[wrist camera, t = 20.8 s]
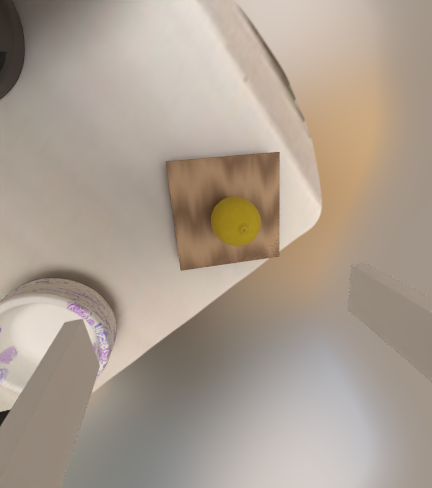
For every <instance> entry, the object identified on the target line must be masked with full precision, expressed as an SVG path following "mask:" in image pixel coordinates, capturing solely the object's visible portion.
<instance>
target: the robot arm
mask: <svg viewBox="0 0 432 488" xmlns="http://www.w3.org/2000/svg"><path fill="white" fill-rule="evenodd" d="M23 60H24V37H23V31H22V27H21V23H20V20H19V17H18V14H17V11H16V9H15V7H14V4H13V2H12V0H0V98H1V97H2V96H4V95H5V94H6V93H7V92H8V91H9V90H10V89H11V88H12V87H13V85H14V84H15V82H16V81H17V79H18V77H19V74H20V72H21V69H22V65H23ZM348 311H350V312H351V313H352V314H353V315H354V316H355V317H357V318H358V319H359V320H360V321H361V322H362V323H363V324H365V325H366V326H367V327H368V328H369V329H370V330H372V331H373V332H374V333H375V334H377V336H379V337H380V338H381V339H382V340H383V341H384V342H386V343H387V344H388V345H389V346H390V347H391V348H393V349H394V350H395V351H396V352H397V353H399V354H400V355H401V356H402V357H403V358H404V359H406V360H407V361H408V362H409V363H410V364H411V365H412V366H414V367H415V368H416V369H417V370H418V371H419V372H421V373H422V374H423V375H424V376H426V378H428V379H429V380H430V381H431V382H432V298H430V297H429V296H426V295H425V294H423V293H421V292H419V291H417V290H416V289H414V288H412V287H410V286H408V285H406V284H404V283H403V282H401V281H399V280H397V279H395V278H393V277H392V276H390V275H388V274H386V273H384V272H382V271H380V270H379V269H376V268H375V267H373V266H371V265H369V264H367V263H365V262H362V263H357V264H352V265H351V274H350V288H349V300H348ZM99 368H100V364H99V362H98V359H97V356H96V353H95V351H94V348H93V345H92V342H91V340H90V337H89V334H88V332H87V329H86V326H85V323H84V321H83V319H78V320H73V321H68V322H65V323H64V324H63V326H62V327H61V329H60V331H59V332H58V334H57V336H56V337H55V339H54V340H53V342H52V344H51V345H50V347H49V348H48V350H47V352H46V353H45V355H44V357H43V358H42V360H41V361H40V363H39V365H38V366H37V368H36V370H35V371H34V373H33V374H32V376H31V378H30V379H29V381H28V383H27V384H26V386H25V387H24V389H23V391H22V392H21V394H20V395H19V397H18V399H17V400H16V402H15V404H14V405H13V407H12V408H11V410H7V411H2V412H0V488H61V486H62V483H63V479H64V477H65V473H66V470H67V467H68V464H69V461H70V458H71V455H72V452H73V449H74V445H75V442H76V439H77V436H78V433H79V430H80V427H81V423H82V420H83V417H84V414H85V411H86V408H87V405H88V402H89V399H90V396H91V393H92V389H93V386H94V383H95V380H96V377H97V374H98V371H99Z"/></svg>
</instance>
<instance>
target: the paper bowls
mask: <svg viewBox="0 0 432 488" xmlns="http://www.w3.org/2000/svg"><path fill="white" fill-rule="evenodd" d="M78 319H83V321H84V323H85V326H86V329H87V332H88V334H89V337H90V340H91V342H92V345H93V348H94V351H95V353H96V356H97V359H98V362H99V364H100V368H99V371H98V374H97V377H98V376H99V375H100V374H101V372H102V371H103V370H104V368H105V366H106V364H107V362H108V360H109V357H110V354H111V351H112V348H113V345H114V342H115V337H116V329H117V325H116V319H115V315H114V313H113V311H112V309H111V307H110V306H109V304H108V303H107V302H106V301H105V299H104V298H103V297H102V296H101V295H100V294H98V293H97V292H96V291H95V290H93V289H92V288H90V287H88V286H85V285H84V284H82V283H79V282H76V281H72V280H69V279H63V278H46V279H39V280H34V281H31V282H29V283H26V284H23V285H21V286H19V287H18V288H17V289H15V290H14V291H12V292H11V293H10V294H8V295H7V296H6V297H5V298H4V299H3V300H2V301H0V385H2V386H3V387H5V388H7V389H9V390H11V391H14V392H16V393H20V394H21V392H22V391H23V389H24V387H25V386H26V384H27V383H28V381H29V379H30V378H31V376H32V374H33V373H34V371H35V370H36V368H37V366H38V365H39V363H40V361H41V360H42V358H43V357H44V355H45V353H46V352H47V350H48V348H49V347H50V345H51V344H52V342H53V340H54V339H55V337H56V336H57V334H58V332H59V331H60V329H61V327H62V326H63V324H64V323H65V322H68V321H73V320H78ZM97 377H96V378H97Z"/></svg>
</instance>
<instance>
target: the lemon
mask: <svg viewBox="0 0 432 488" xmlns="http://www.w3.org/2000/svg"><path fill="white" fill-rule="evenodd" d="M211 226H212V229H213V232H214V233H215V235H216V236H217V238H219V239H220V240H221V241H222V242H224V243H226V244H228V245H231V246H243V245H247V244H248V243H250V242H252V241H253V240H254V239H255V238H256V236H257V235H258V233H259V231H260V226H261V219H260V215H259V212H258V210H257V209H256V207H255V206H254V204H252V203H251V202H250V201H249V200H247V199H244V198H242V197H236V196H234V197H228V198H225V199H223V200H221V201H220V202H219V203H218V204H217V205H216V206H215V207H214V209H213V211H212V215H211Z"/></svg>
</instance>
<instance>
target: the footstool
mask: <svg viewBox="0 0 432 488" xmlns="http://www.w3.org/2000/svg"><path fill="white" fill-rule="evenodd" d="M166 167H167V174H168V182H169V189H170V196H171V204H172V211H173V218H174V225H175V233H176V240H177V247H178V255H179V262H180V269H181V270H188V269H195V268H202V267H209V266H216V265H223V264H230V263H237V262H244V261H251V260H258V259H265V258H272V257H279V152H273V153H261V154H249V155H238V156H226V157H214V158H202V159H190V160H178V161H167V162H166ZM234 196H236V197H242V198H244V199H247V200H249V201H250V202H251V203H252V204H254V206H255V207H256V209H257V210H258V212H259V215H260V219H261V226H260V231H259V233H258V235H257V236H256V238H255V239H254V240H253V241H252V242H250V243H248V244H247V245H243V246H231V245H228V244H226V243H224V242H222V241H221V240H220V239H219V238H217V236H216V235H215V233H214V232H213V229H212V226H211V215H212V211H213V209H214V207H215V206H216V205H217V204H218V203H219V202H220V201H221V200H223V199H225V198H228V197H234Z"/></svg>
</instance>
